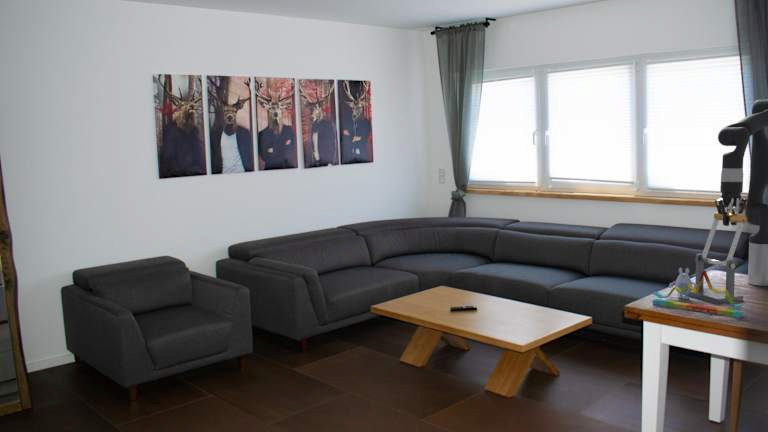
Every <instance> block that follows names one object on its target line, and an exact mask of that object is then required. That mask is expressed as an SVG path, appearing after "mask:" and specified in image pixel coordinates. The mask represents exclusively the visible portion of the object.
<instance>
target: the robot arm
mask: <svg viewBox="0 0 768 432" xmlns="http://www.w3.org/2000/svg"><path fill="white" fill-rule="evenodd" d="M766 127H768V98H767V99H757V100H755V101H754V102H753V105H752V107H751V114H750V115H747V116H746V117H744V118H742V119H741V120H739V121H737V122H735V123H732V124H729V125H725V126H724V127H722V128H721V130H720V131H718V132H719V133H718V135H717V139H718V142H719V143H720V145H722V146H723V147H725V146H726V147H735V148H734V150H733V151H728V152H725V153H724V154H723V155H722V161H721V162H722V163H721V173H720V189H719V191H720V192H721V196H720V198H719V199H715V200H714V203H715V204H714V205H715V207H716V211H717V212H718V213H719V214H721V215H723V221H722V225H723V226H725V227H729V226H730V225H731V226H738V225H737V224H738V223H736V222H729V218H730V216H729V214H736V215H743V212H744V209H745V212H744V213H745V215H744V216H746V217H747V222H746V223H748V224H749V225H752V226H758V227H759V229H758V232H756V233H753V234H750V235H749V237H748V265H747V266H748V268H747V270H748V271H747V283H748V284H749V285H754V286H760V287H762V286H763V287H767V286H768V203H763V202H764V193H765V190H766V188H767V186H768V137H767V135H766V132H765V128H766ZM751 136H752V137H751ZM750 139H751V151H750V153H751V154H750V167H749V168H750V169H749V172H750V173H749V183H748V184H749V185H748V186H749V187H748V192H747V193H748V194H747V199H746V198H743V197H742V195H741V194H742V193H743V188H744V187H743V186H744V157H745V152H746V150H747V147H748V145H749V142H750Z"/></svg>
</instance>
